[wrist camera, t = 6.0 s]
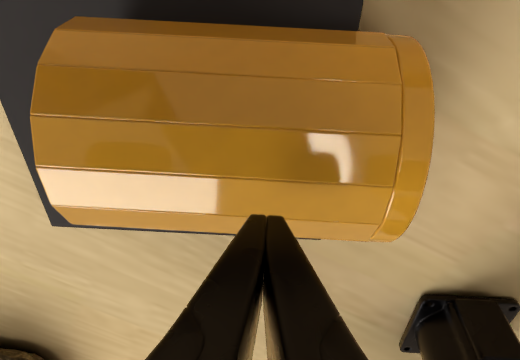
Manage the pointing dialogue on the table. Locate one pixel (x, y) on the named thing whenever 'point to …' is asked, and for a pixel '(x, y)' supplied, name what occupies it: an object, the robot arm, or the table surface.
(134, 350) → the table surface
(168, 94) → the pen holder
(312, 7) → the mat
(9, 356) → the seashell
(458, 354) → the robot arm
